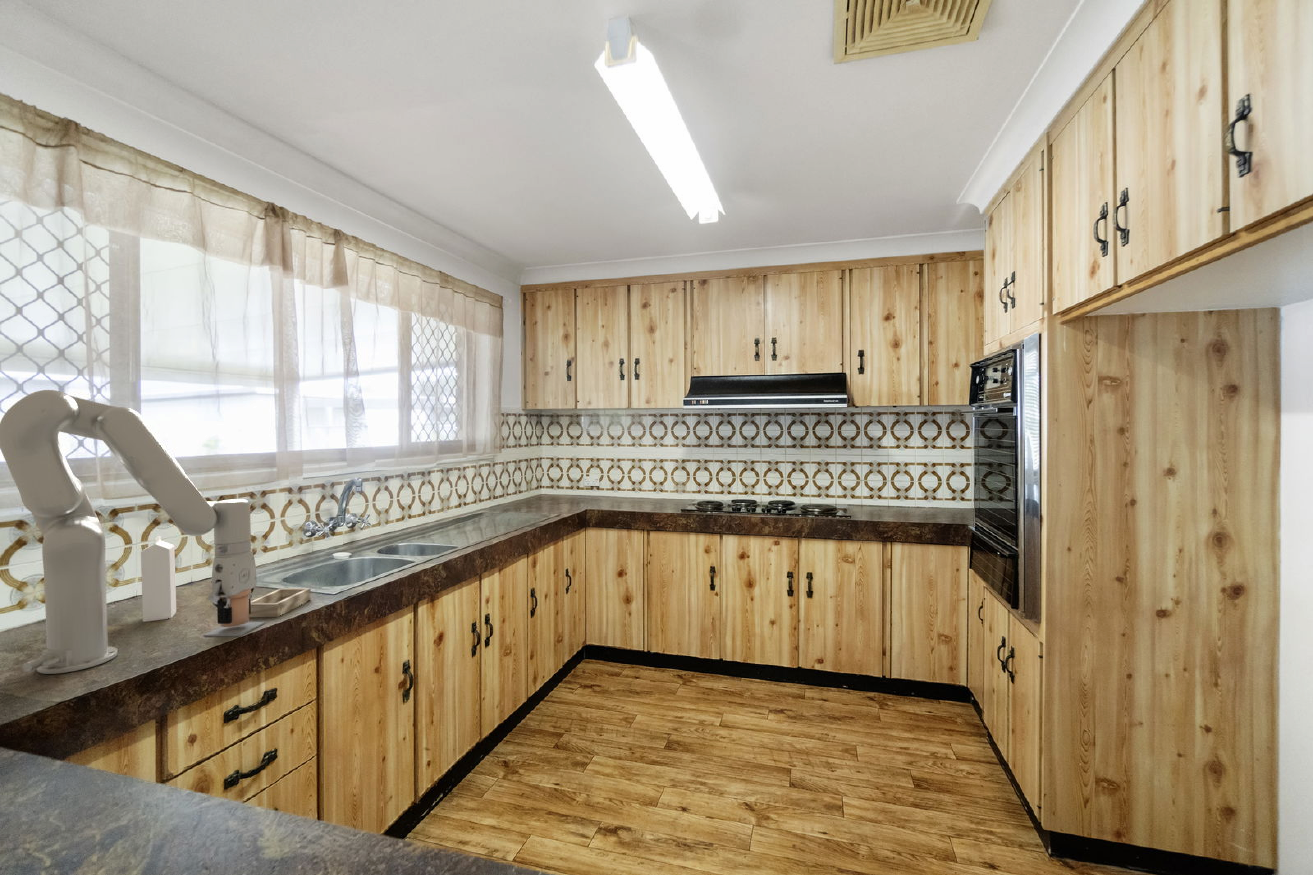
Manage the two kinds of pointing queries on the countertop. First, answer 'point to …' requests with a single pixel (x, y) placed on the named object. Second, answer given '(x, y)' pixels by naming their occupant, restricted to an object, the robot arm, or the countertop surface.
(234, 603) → the pot
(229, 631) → the mat
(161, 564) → the milk
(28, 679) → the countertop surface
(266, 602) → the wooden tray
